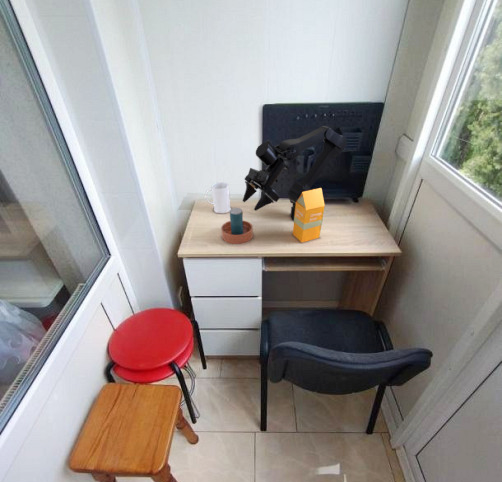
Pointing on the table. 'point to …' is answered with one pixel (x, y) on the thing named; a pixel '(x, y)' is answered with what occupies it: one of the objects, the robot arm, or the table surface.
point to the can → (236, 221)
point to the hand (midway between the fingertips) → (248, 205)
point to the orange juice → (308, 215)
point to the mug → (220, 197)
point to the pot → (237, 239)
